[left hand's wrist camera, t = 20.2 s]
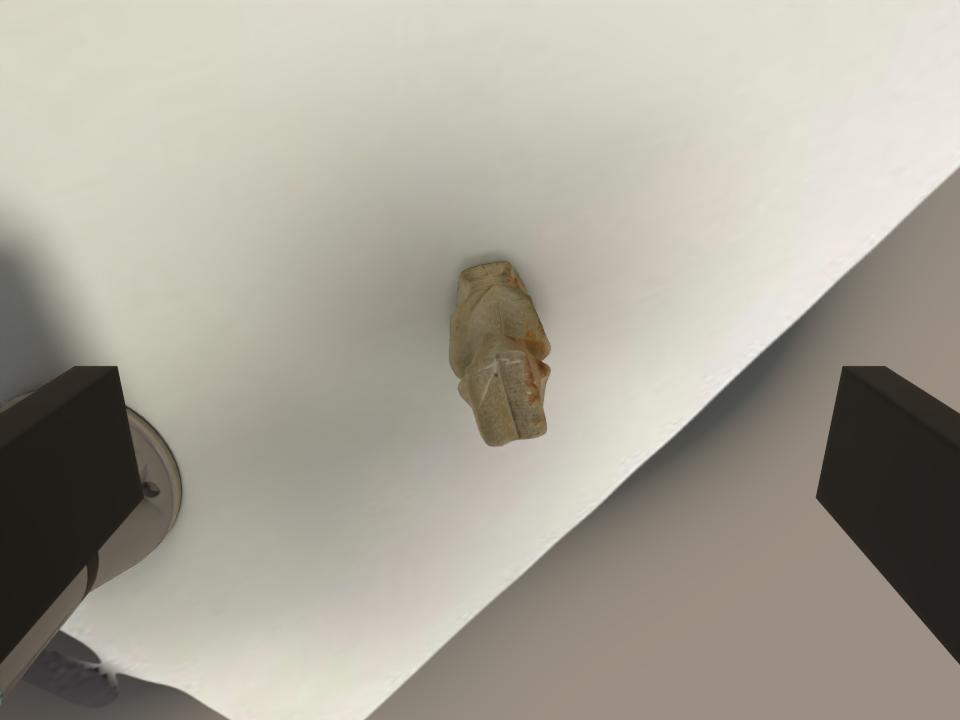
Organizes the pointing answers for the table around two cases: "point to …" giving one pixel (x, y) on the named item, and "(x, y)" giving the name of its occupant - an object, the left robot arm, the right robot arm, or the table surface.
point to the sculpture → (499, 354)
